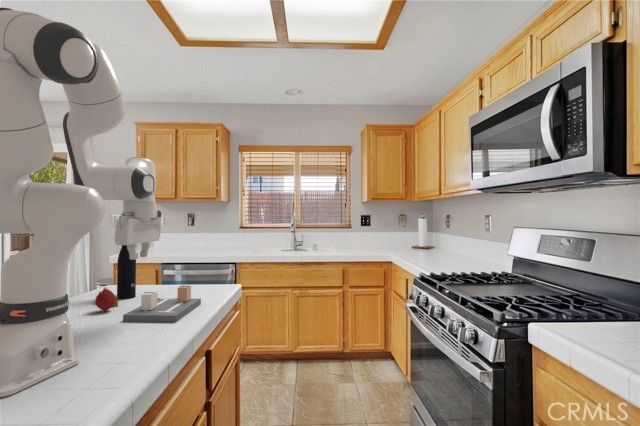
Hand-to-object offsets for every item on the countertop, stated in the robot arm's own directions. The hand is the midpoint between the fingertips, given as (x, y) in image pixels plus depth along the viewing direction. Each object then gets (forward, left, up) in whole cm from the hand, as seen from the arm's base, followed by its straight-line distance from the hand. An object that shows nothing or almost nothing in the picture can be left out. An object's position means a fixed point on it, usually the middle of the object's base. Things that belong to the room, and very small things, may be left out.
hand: (138, 258), depth 108 cm
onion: (+11, +16, -19) cm, 28 cm away
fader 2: (+18, -7, -17) cm, 26 cm away
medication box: (+20, +21, -20) cm, 35 cm away
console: (+11, -4, -19) cm, 22 cm away
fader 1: (+7, 0, -17) cm, 18 cm away
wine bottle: (+31, +20, -19) cm, 42 cm away
